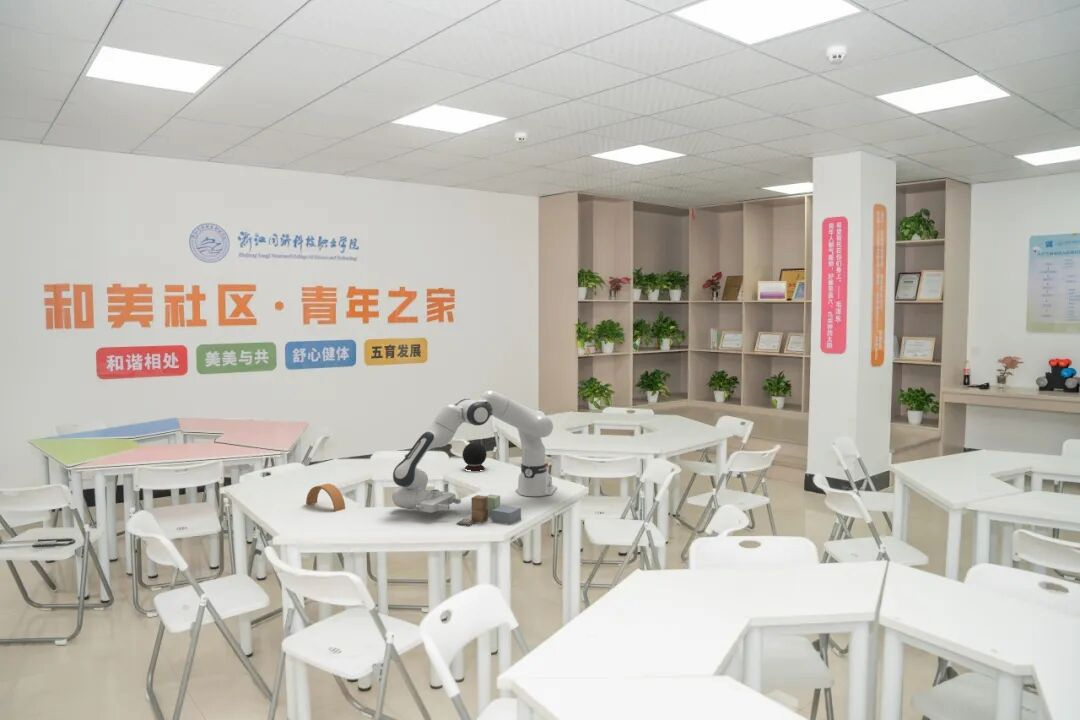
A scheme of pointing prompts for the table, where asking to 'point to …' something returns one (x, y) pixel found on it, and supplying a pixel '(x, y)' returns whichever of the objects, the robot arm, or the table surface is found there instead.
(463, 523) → the card
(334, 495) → the orange brown arch
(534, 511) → the table surface
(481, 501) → the walnut block
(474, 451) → the snow globe
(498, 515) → the slate base block
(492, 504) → the sage green block
